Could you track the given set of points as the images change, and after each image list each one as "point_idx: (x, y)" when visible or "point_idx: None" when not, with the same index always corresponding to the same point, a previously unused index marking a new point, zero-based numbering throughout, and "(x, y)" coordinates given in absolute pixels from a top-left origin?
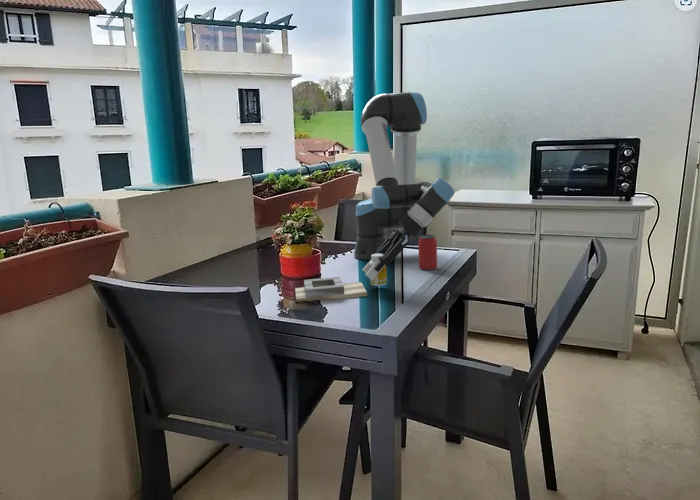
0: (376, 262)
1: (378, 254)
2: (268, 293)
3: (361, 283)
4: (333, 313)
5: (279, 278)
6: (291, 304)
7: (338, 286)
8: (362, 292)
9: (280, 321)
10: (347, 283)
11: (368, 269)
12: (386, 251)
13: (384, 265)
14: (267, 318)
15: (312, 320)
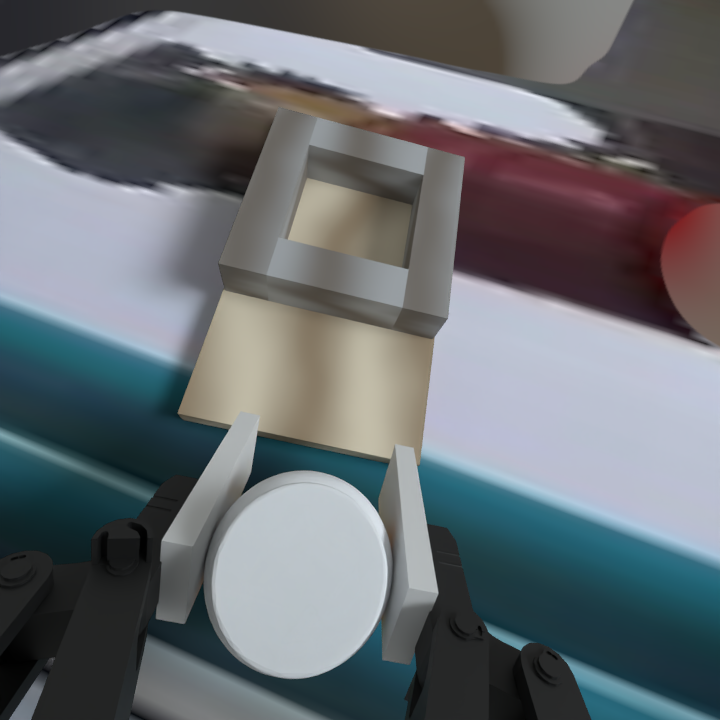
0: (197, 508)
1: (312, 596)
2: (469, 96)
3: (383, 453)
4: (35, 184)
5: (671, 181)
6: None
7: (241, 241)
8: (193, 387)
9: (103, 29)
10: (424, 378)
11: (389, 495)
12: (102, 715)
13: (162, 604)
14: (169, 14)
15: (18, 99)
